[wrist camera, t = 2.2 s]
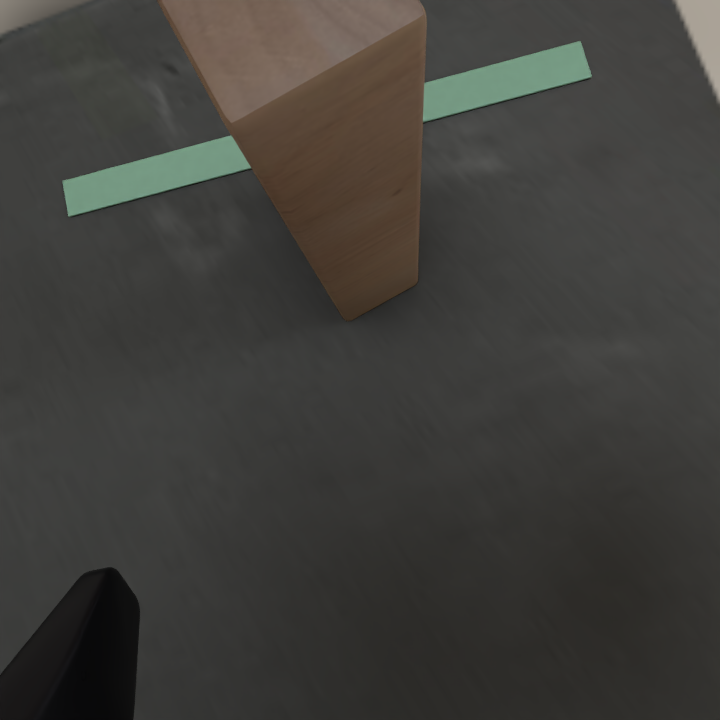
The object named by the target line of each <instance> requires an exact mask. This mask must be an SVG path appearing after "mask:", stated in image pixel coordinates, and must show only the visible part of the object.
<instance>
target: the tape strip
mask: <svg viewBox="0 0 720 720" xmlns="http://www.w3.org/2000/svg"><path fill="white" fill-rule="evenodd" d="M591 77H592V76H591V73H590V70H589V66H588V63H587V60H586V57H585V54H584V51H583V47H582V44H581V41H578V42H575V43H571V44H567V45H564V46H560V47H556V48H552V49H549V50H545V51H541V52H538V53H534V54H530V55H527V56H523V57H519V58H516V59H512V60H508V61H504V62H501V63H497V64H493V65H490V66H486V67H482V68H479V69H475V70H471V71H467V72H464V73H460V74H456V75H453V76H449V77H445V78H442V79H438V80H434V81H431V82H427V83H424V107H423V123H424V122H428V121H432V120H436V119H439V118H443V117H447V116H451V115H454V114H458V113H462V112H466V111H469V110H473V109H477V108H481V107H484V106H488V105H492V104H496V103H499V102H503V101H507V100H511V99H514V98H518V97H522V96H526V95H529V94H533V93H537V92H541V91H544V90H548V89H552V88H556V87H559V86H563V85H567V84H571V83H574V82H578V81H582V80H586V79H589V78H591ZM248 169H252V168H251V167H250V165H249V163H248V162H247V160H246V158H245V157H244V155H243V153H242V152H241V150H240V149H239V147H238V145H237V144H236V142H235V140H234V139H233V137H232V135H231V136H227V137H224V138H220V139H216V140H213V141H209V142H205V143H201V144H198V145H194V146H190V147H187V148H183V149H179V150H176V151H172V152H168V153H165V154H161V155H157V156H153V157H150V158H146V159H142V160H139V161H135V162H131V163H128V164H124V165H120V166H116V167H113V168H109V169H105V170H102V171H98V172H94V173H91V174H87V175H83V176H80V177H76V178H72V179H68V180H65V181H63V187H64V193H65V199H66V205H67V211H68V216H69V217H72V216H76V215H79V214H83V213H87V212H91V211H94V210H98V209H102V208H106V207H109V206H113V205H117V204H121V203H124V202H128V201H132V200H136V199H139V198H143V197H147V196H151V195H154V194H158V193H162V192H166V191H169V190H173V189H177V188H181V187H184V186H188V185H192V184H196V183H199V182H203V181H207V180H211V179H214V178H218V177H222V176H226V175H229V174H233V173H237V172H241V171H244V170H248Z"/></svg>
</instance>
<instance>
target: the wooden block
mask: <svg viewBox="0 0 720 720" xmlns="http://www.w3.org/2000/svg"><path fill="white" fill-rule="evenodd" d="M157 2H158V3H159V5H160V7H161V9H162V11H163V13H164V14H165V16H166V18H167V20H168V22H169V24H170V25H171V27H172V29H173V31H174V33H175V34H176V36H177V38H178V40H179V42H180V44H181V45H182V47H183V49H184V51H185V53H186V55H187V56H188V58H189V60H190V62H191V64H192V66H193V67H194V69H195V71H196V73H197V75H198V76H199V78H200V80H201V82H202V84H203V86H204V87H205V89H206V91H207V93H208V95H209V97H210V98H211V100H212V102H213V104H214V106H215V108H216V109H217V111H218V113H219V115H220V117H221V118H222V120H223V122H224V124H225V126H226V127H227V129H228V130H229V132H230V134H231V135H232V137H233V139H234V140H235V142H236V144H237V145H238V147H239V149H240V150H241V152H242V153H243V155H244V157H245V158H246V160H247V162H248V163H249V165H250V167H251V168H252V170H253V172H254V173H255V175H256V176H257V178H258V180H259V181H260V183H261V185H262V186H263V188H264V190H265V191H266V193H267V194H268V196H269V198H270V199H271V201H272V203H273V204H274V206H275V208H276V209H277V211H278V213H279V214H280V216H281V217H282V219H283V221H284V222H285V224H286V226H287V227H288V229H289V231H290V232H291V234H292V236H293V237H294V239H295V240H296V242H297V244H298V245H299V247H300V249H301V250H302V252H303V254H304V255H305V257H306V258H307V260H308V262H309V263H310V265H311V267H312V268H313V270H314V272H315V273H316V275H317V277H318V278H319V280H320V281H321V283H322V285H323V286H324V288H325V290H326V291H327V293H328V295H329V296H330V298H331V299H332V301H333V303H334V304H335V306H336V308H337V309H338V311H339V313H340V314H341V316H342V317H343V319H344V320H346V321H351V320H353V319H355V318H357V317H359V316H360V315H362V314H364V313H366V312H368V311H369V310H371V309H373V308H375V307H377V306H378V305H380V304H382V303H384V302H386V301H387V300H389V299H391V298H393V297H395V296H396V295H398V294H400V293H402V292H404V291H405V290H407V289H409V288H411V287H413V286H415V285H416V283H417V282H418V256H419V220H420V189H421V159H422V133H423V107H424V80H425V54H426V28H427V20H426V12H425V9H424V7H423V6H422V4H421V3H420V1H419V0H157Z"/></svg>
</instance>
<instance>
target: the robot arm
mask: <svg viewBox="0 0 720 720" xmlns="http://www.w3.org/2000/svg"><path fill="white" fill-rule="evenodd" d="M139 622H140V608H139V603H138V600H137V598H136V596H135V594H134V593H133V592H132V590H131V589H130V587H129V586H128V585H127V583H126V582H125V580H124V579H123V577H122V576H121V575H120V573H119V572H118V571H117V570H116V569H114V568H112V567H107V568H102V569H97V570H93V571H89V572H86V573H84V574H83V575H82V576H81V577H80V578H79V579H78V580H77V581H76V582H75V584H74V585H73V586H72V587H71V589H70V590H69V591H68V592H67V594H66V595H65V596H64V597H63V598H62V600H61V601H60V602H59V603H58V605H57V606H56V607H55V608H54V610H53V611H52V612H51V613H50V614H49V616H48V617H47V618H46V619H45V621H44V622H43V623H42V624H41V625H40V627H39V628H38V629H37V630H36V632H35V633H34V634H33V635H32V637H31V638H30V639H29V640H28V641H27V643H26V644H25V645H24V646H23V648H22V649H21V650H20V651H19V652H18V654H17V655H16V656H15V657H14V659H13V660H12V661H11V662H10V664H9V665H8V666H7V667H6V668H5V670H4V671H3V672H2V673H1V675H0V720H133V717H134V705H135V689H136V672H137V655H138V638H139Z"/></svg>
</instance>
